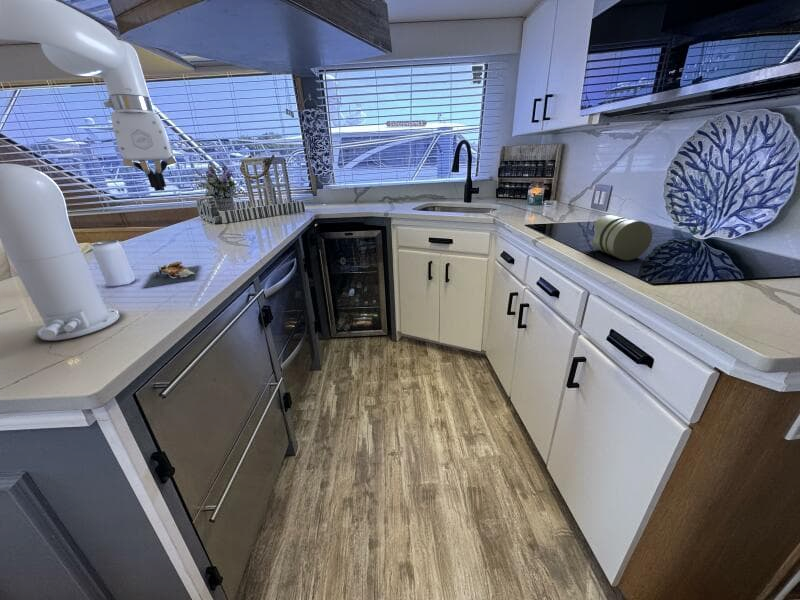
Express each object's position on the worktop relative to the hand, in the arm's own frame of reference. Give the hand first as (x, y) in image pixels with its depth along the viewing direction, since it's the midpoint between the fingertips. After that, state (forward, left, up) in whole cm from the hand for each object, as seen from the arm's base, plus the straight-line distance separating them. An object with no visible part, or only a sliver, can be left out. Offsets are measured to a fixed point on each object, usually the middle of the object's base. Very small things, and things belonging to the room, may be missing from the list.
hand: (160, 190), depth 82 cm
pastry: (+11, +4, -25) cm, 28 cm away
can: (+11, +18, -25) cm, 33 cm away
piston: (-47, -119, -25) cm, 130 cm away
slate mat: (+10, +5, -25) cm, 27 cm away
